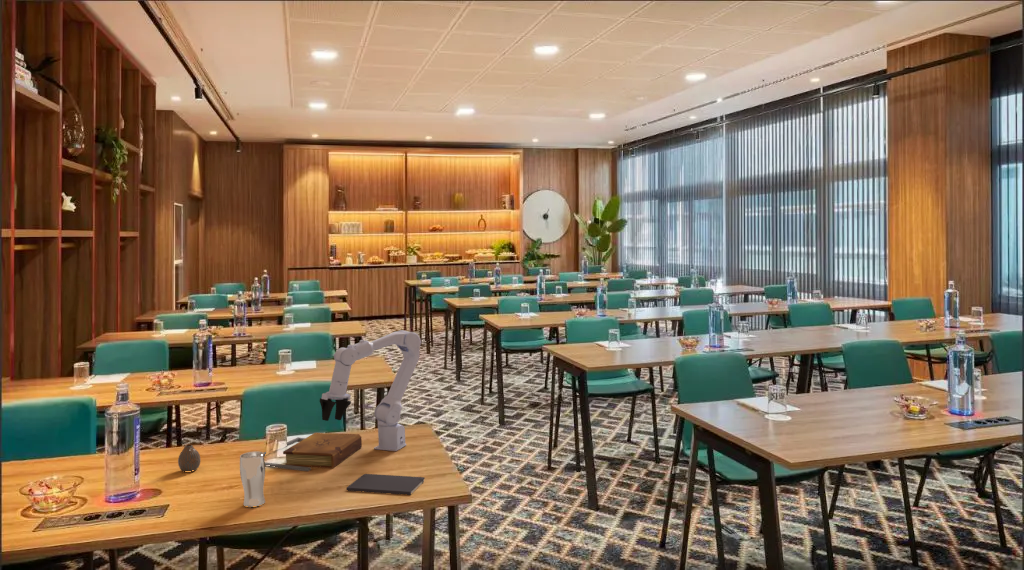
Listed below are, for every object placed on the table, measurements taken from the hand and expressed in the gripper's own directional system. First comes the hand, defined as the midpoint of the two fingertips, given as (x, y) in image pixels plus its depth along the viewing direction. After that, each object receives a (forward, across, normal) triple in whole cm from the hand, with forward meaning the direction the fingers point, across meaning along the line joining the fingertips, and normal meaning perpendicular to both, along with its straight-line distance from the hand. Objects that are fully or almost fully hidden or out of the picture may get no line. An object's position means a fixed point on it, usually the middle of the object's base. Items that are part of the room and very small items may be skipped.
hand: (331, 420), depth 243 cm
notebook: (+14, +12, +34) cm, 38 cm away
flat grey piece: (+15, -6, -13) cm, 21 cm away
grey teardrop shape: (+25, +19, -38) cm, 50 cm away
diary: (+15, -6, -4) cm, 16 cm away
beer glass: (+23, +37, +5) cm, 44 cm away
